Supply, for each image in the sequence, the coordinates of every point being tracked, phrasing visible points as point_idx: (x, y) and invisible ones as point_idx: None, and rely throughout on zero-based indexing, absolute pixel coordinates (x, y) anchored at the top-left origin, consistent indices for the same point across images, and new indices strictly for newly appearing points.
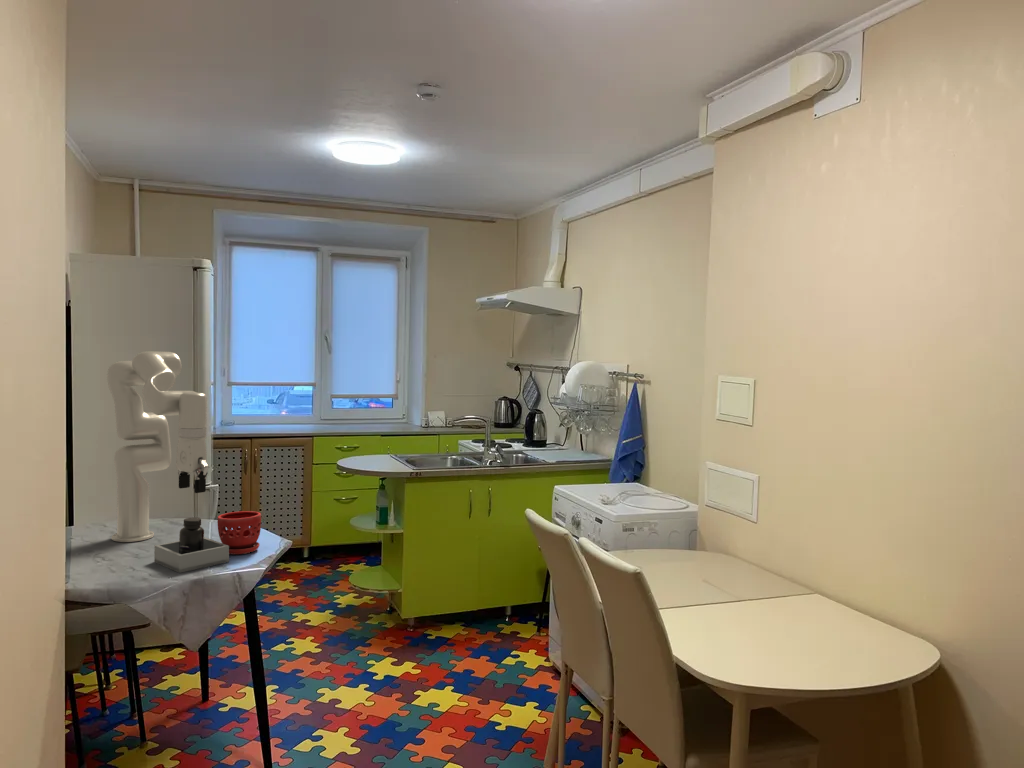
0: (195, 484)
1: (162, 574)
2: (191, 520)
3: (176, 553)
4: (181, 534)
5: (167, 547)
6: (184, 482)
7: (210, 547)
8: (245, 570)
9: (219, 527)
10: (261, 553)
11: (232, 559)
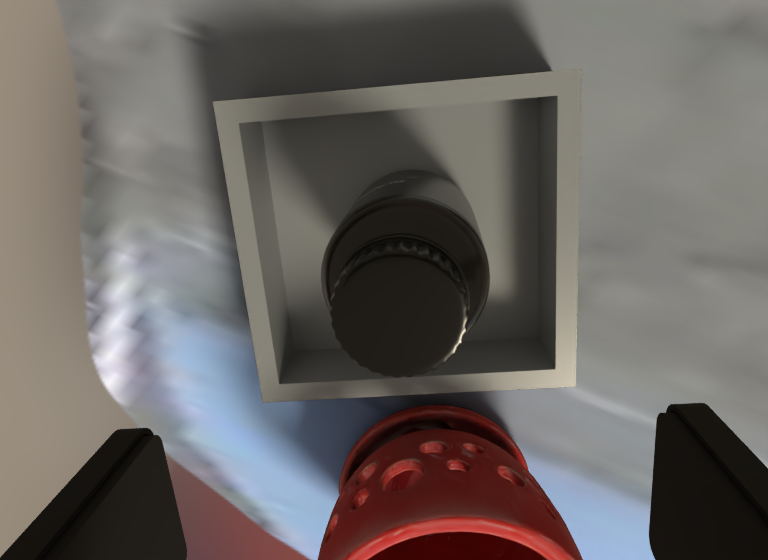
0: (35, 524)
1: (276, 18)
2: (363, 293)
3: (280, 107)
4: (387, 196)
5: (550, 150)
6: (692, 536)
7: None
8: (104, 356)
9: (454, 471)
10: None
11: None
